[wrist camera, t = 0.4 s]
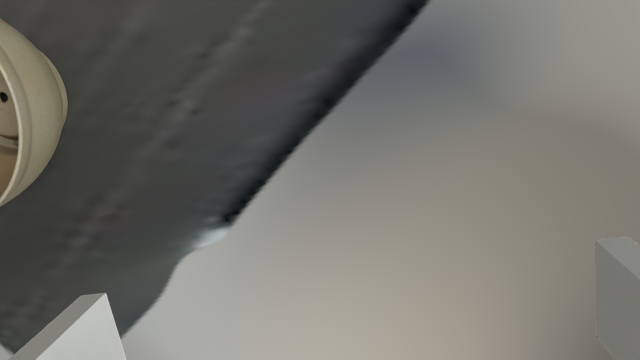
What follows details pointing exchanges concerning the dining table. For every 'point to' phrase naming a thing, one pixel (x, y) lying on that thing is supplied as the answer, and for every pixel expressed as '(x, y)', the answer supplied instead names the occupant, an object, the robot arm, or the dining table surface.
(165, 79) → the dining table surface
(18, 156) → the planter bowl
